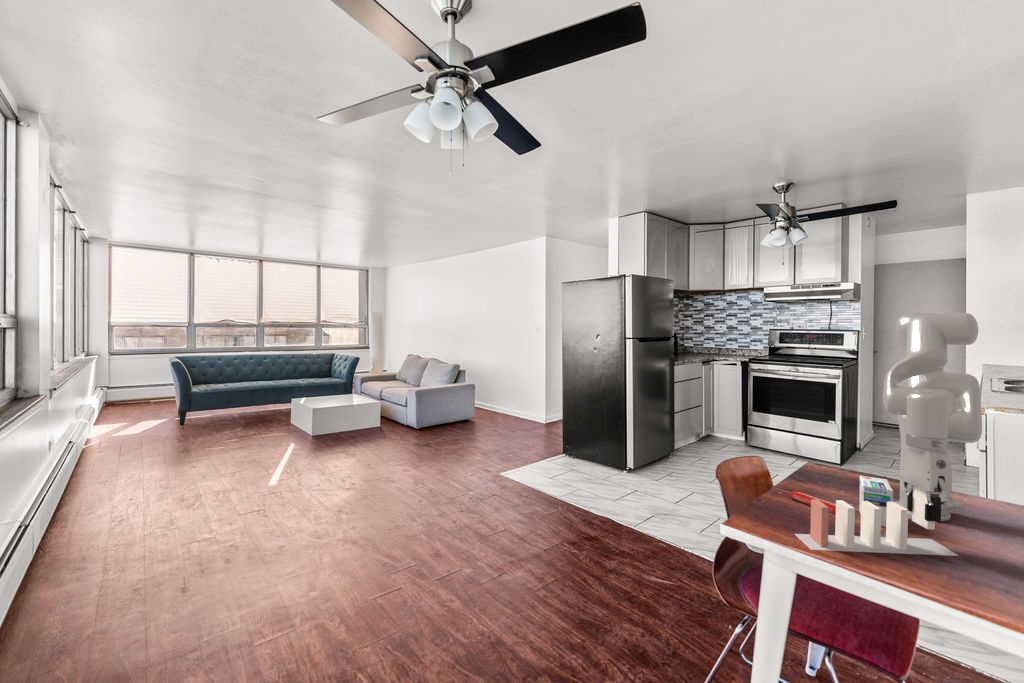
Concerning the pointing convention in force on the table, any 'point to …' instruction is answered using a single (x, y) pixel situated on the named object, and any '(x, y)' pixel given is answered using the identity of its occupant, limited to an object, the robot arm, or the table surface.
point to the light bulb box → (876, 494)
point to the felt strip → (885, 547)
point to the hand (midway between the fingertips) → (923, 515)
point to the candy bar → (807, 499)
